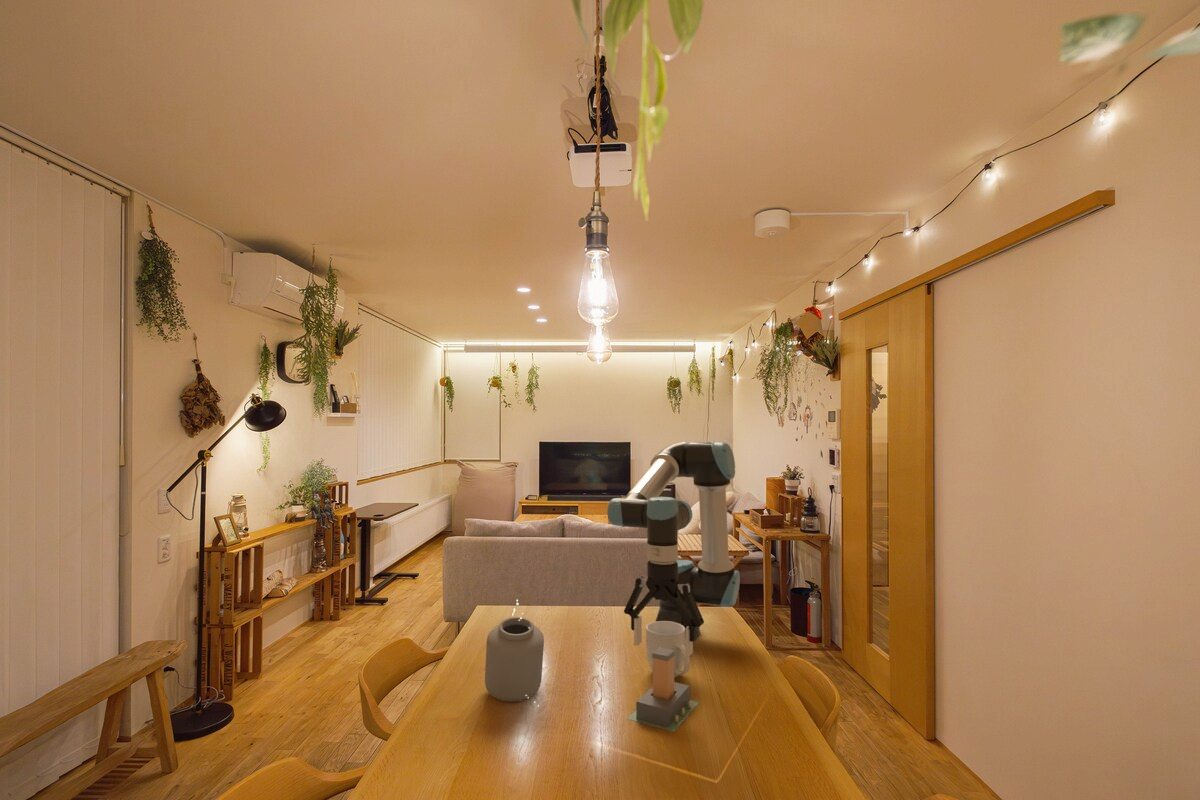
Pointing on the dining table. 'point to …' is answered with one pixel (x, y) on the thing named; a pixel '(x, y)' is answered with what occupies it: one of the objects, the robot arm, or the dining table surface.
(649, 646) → the mug
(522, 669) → the jar
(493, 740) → the dining table surface
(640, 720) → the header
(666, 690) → the plug
